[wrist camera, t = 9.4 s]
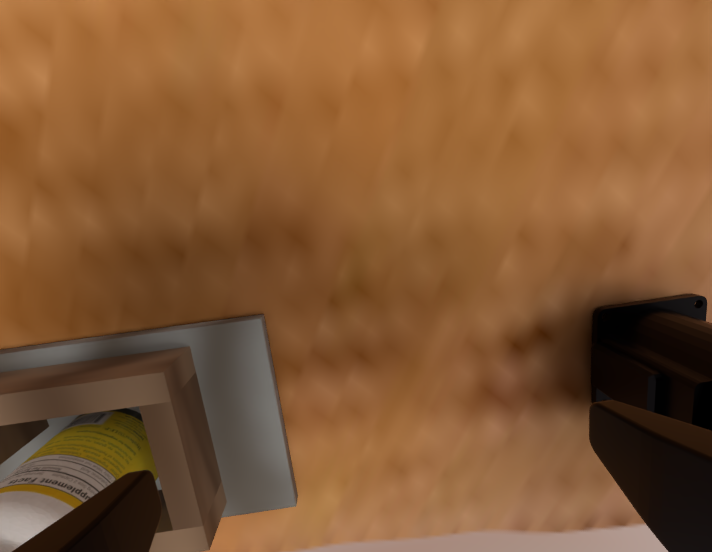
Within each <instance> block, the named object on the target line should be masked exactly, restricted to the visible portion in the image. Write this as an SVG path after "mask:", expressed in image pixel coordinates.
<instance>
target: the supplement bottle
mask: <svg viewBox="0 0 712 552" xmlns="http://www.w3.org/2000/svg"><path fill="white" fill-rule="evenodd" d="M141 470H149V471H151V472H152V473H153V476H154V479H155V481H156V480H157V478H158V474H157V470H156V466H155V463H154V459H153V456H152V452H151V449H150V445H149V441H148V438H147V434H146V431H145V427H144V423H143V420H142V416H141V413H140V409H139V406H137V407H130V408H123V409H116V410H109V411H102V412H95V413H88V414H81V415H79V416H78V417H77V418H76V419H74V420H73V421H72V422H71V423H70V424H68V425H67V426H66V427H65V428H64V429H62V430H61V431H60V432H59V433H58V434H57V435H55V436H54V437H53V438H52V439H51V440H49V441H48V442H47V443H46V444H45V445H44V446H42V447H41V448H40V449H39V450H38V451H37V452H35V453H34V454H33V455H32V456H31V457H29V458H28V459H27V460H26V461H25V462H24V463H22V464H21V465H20V466H19V467H18V468H17V469H15V470H14V471H13V472H12V473H11V474H10V475H8V476H7V477H6V478H5V479H4V480H2V481H1V482H0V552H12V551H13V550H15V549H16V548H18V547H19V546H21V545H22V544H23V543H25V542H26V541H28V540H29V539H31V538H32V537H34V536H35V535H37V534H38V533H40V532H41V531H43V530H44V529H45V528H47V527H48V526H50V525H51V524H53V523H54V522H56V521H57V520H59V519H60V518H62V517H63V516H65V515H66V514H67V513H69V512H70V511H72V510H73V509H75V508H76V507H78V506H79V505H81V504H82V503H84V502H85V501H87V500H88V499H89V498H91V497H92V496H94V495H95V494H97V493H98V492H100V491H101V490H103V489H104V488H106V487H107V486H109V485H110V484H111V483H113V482H114V481H116V480H117V479H119V478H120V477H122V476H123V475H125V474H126V473H129V472H134V471H141Z"/></svg>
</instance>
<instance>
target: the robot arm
mask: <svg viewBox="0 0 712 552" xmlns="http://www.w3.org/2000/svg"><path fill="white" fill-rule="evenodd" d="M695 302H696V304H695ZM694 304H695V305H694ZM706 310H707V300H706V298H705V297H703V296H700V295H696V294H690V295H683V296H676V297H668V298H661V299H654V300H647V301H640V302H632V303H625V304H618V305H611V306H604V307H599V308H597V309H596V310H595V311H594V313H593V324H592V355H591V384H592V404H591V406H590V410H589V439H590V443H591V446H592V448H593V450H594V452H595V453H596V454H597V456H598V457H599V459H600V460H601V462H602V463H603V464H604V466H605V467H606V469H607V470H608V471H609V473H610V474H611V476H612V477H613V478H614V480H615V481H616V483H617V484H618V486H619V487H620V488H621V490H622V491H623V493H624V494H625V495H626V497H627V498H628V500H629V501H630V502H631V504H632V505H633V507H634V508H635V510H636V511H637V512H638V514H639V515H640V516H641V518H642V519H643V520H644V522H645V523H646V524H647V526H648V527H649V528H650V530H651V531H652V532H653V533H654V534H655V536H656V537H657V538H658V540H659V541H660V542H661V543H662V544H663V546H664V547H665V548H666V549H667V550H668V552H712V323H709V322H706ZM603 314H605V317H604V318H603V319H602V315H603ZM602 400H603V401H602ZM161 513H162V504H161V500H160V496H159V493H158V489H157V486H156V482H155V479H154V476H153V473H152V472H151V471H149V470H141V471H134V472H129V473H126V474H125V475H123V476H122V477H120V478H119V479H117V480H116V481H114V482H113V483H111V484H110V485H109V486H107V487H106V488H104V489H103V490H101V491H100V492H98V493H97V494H95V495H94V496H92V497H91V498H89V499H88V500H87V501H85V502H84V503H82V504H81V505H79V506H78V507H76V508H75V509H73V510H72V511H70V512H69V513H67V514H66V515H65V516H63V517H62V518H60V519H59V520H57V521H56V522H54V523H53V524H51V525H50V526H48V527H47V528H45V529H44V530H43V531H41V532H40V533H38V534H37V535H35V536H34V537H32V538H31V539H29V540H28V541H26V542H25V543H23V544H22V545H21V546H19V547H18V548H16V549H15V550H13V551H12V552H149V551H150V548H151V545H152V542H153V539H154V536H155V533H156V530H157V527H158V524H159V521H160V518H161Z"/></svg>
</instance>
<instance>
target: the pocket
mask: <svg viewBox="0 0 712 552" xmlns="http://www.w3.org/2000/svg"><path fill="white" fill-rule="evenodd" d="M137 406H139V409H140V413H141V416H142V420H143V423H144V427H145V431H146V434H147V438H148V441H149V445H150V449H151V452H152V456H153V459H154V463H155V466H156V470H157V474H158V478H157V480H156V481H155V482H156V486H157V489H158V493H159V496H160V500H161V504H162V513H161V518H160V521H159V524H158V527H157V530H156V533H155V536H154V539H153V542H152V545H151V548H150V551H149V552H201V551H207V550H210V547H211V544H212V542H213V539H214V536H215V533H216V531H217V528H218V525H219V522H220V520H221V518H222V517H229V516H235V515H242V514H248V513H255V512H262V511H268V510H275V509H282V508H288V507H295V506H296V505H297V497H298V495H297V489H296V484H295V479H294V473H293V468H292V463H291V457H290V452H289V447H288V441H287V436H286V431H285V425H284V420H283V415H282V409H281V404H280V399H279V393H278V388H277V383H276V377H275V372H274V366H273V361H272V356H271V350H270V345H269V340H268V334H267V329H266V324H265V318H264V314H260V315H253V316H246V317H238V318H231V319H224V320H216V321H209V322H202V323H194V324H187V325H179V326H172V327H165V328H157V329H150V330H143V331H135V332H128V333H121V334H113V335H106V336H99V337H91V338H84V339H77V340H69V341H62V342H54V343H47V344H40V345H32V346H25V347H18V348H10V349H3V350H0V482H1V481H2V480H4V479H5V478H6V477H7V476H8V475H10V474H11V473H12V472H13V471H14V470H15V469H17V468H18V467H19V466H20V465H21V464H22V463H24V462H25V461H26V460H27V459H28V458H29V457H31V456H32V455H33V454H34V453H35V452H37V451H38V450H39V449H40V448H41V447H42V446H44V445H45V444H46V443H47V442H48V441H49V440H51V439H52V438H53V437H54V436H55V435H57V434H58V433H59V432H60V431H61V430H62V429H64V428H65V427H66V426H67V425H68V424H70V423H71V422H72V421H73V420H74V419H76V418H77V417H78V416H79V415H81V414H88V413H95V412H102V411H109V410H116V409H123V408H130V407H137Z"/></svg>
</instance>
